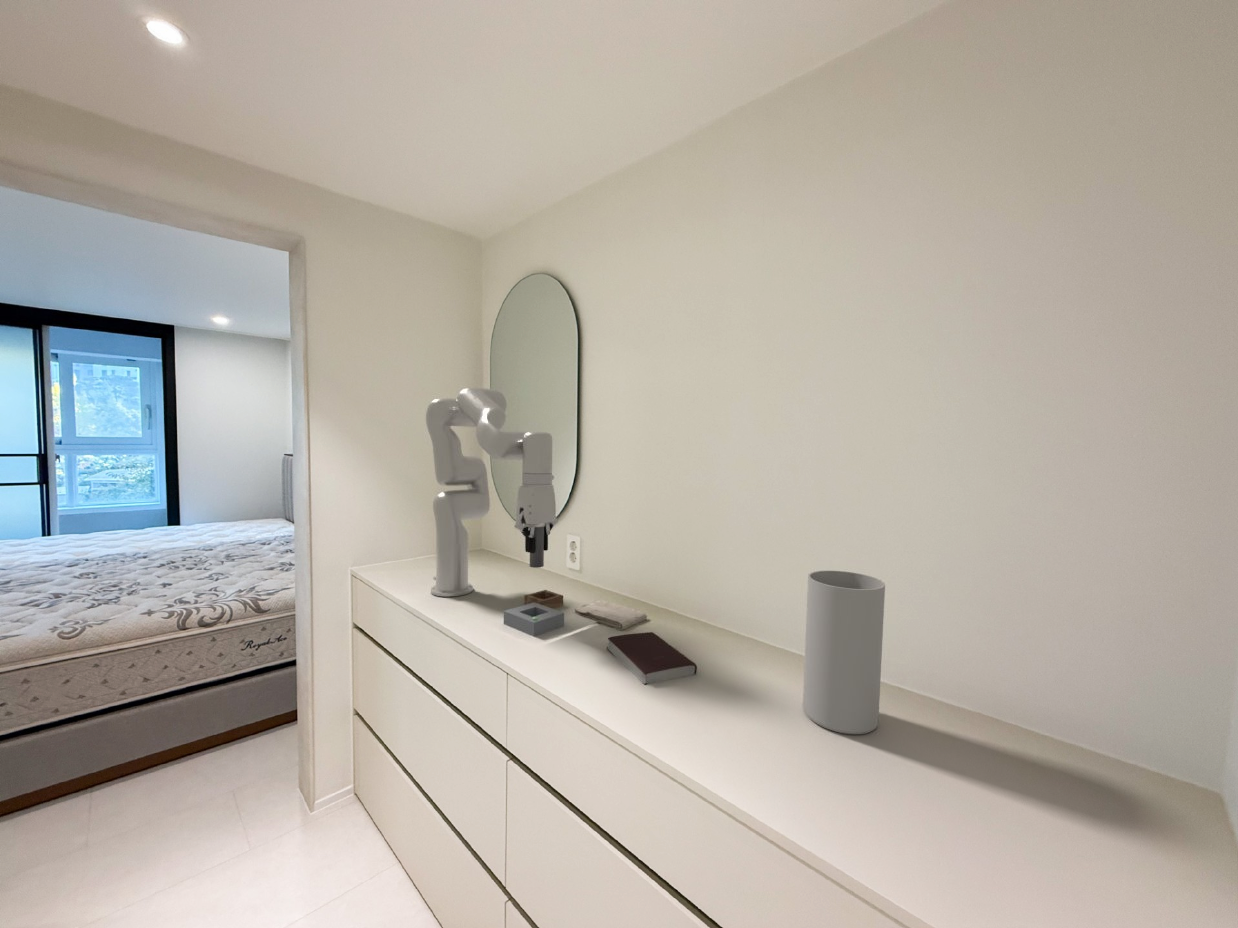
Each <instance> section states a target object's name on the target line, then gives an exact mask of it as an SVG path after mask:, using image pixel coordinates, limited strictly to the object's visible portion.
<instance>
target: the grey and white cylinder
mask: <svg viewBox="0 0 1238 928" xmlns="http://www.w3.org/2000/svg"><path fill="white" fill-rule="evenodd" d="M544 526H545V523H541V524H538V525H535V528H534V536H533V537H535V553H529V568H535V569H537V568H543V567H544V566H545V565H544V563H545V561H544V559H545V551H544Z"/></svg>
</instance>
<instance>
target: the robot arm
mask: <svg viewBox="0 0 1238 928" xmlns="http://www.w3.org/2000/svg"><path fill="white" fill-rule="evenodd" d="M507 407H508V406H507V400H506V397H505V395H504V393H502V392H501V391H500V390H497V389H493V388H485V387H484V388H483V387H475V386H474V387H467V388H464V389H462V390H461V391H460V392H459V393H458V394H457V397H456V398H453V397H452V398H451V397H444V398H443V397H441V398H435V399H434V400H432V401H430V403H429V404H428V406H427V409H426V413H425V422H426V427H427V432H428V434H429V436H430V440H431V445H432V453H433V464H434V465H433V466H434V474H435V478H436V479H435V480H436V481H437V484H439V485H441V486H443V487H458V486H459V487H461V486H462V487H463V486H467V489H453V490H451V489H450V490H446V491H442V492H439V493H438V494H437V495H436V496H435V497H434V499H433V503H432V509H433V515H434V521H435V528H436V531H435V537H436V538H435V539H436V541H435V542H436V544H435V545H436V546H435V548H436V549H435V551H436V555H435V556H436V557H435V558H436V559H435V560H436V561H435V563H436V564H435V566H436V567H435V569H436V570H435V575H434V576H433V577H432V578H433V580H434V581H435V585H433V586H431V588H430V594H432V595H433V596H438V597H443V598H444V597H446V598H448V597H458V596H465V595H467V594H469V593H471V592H473V590H474V585H472V583H469V533H468V531H467V529H466V527H465V526H464V524H463V522H462V521H465V520H475V519H482V518H483V517H485V516H487V515H488V513H489V511H490V505H491V502H490V501H491V500H490V490H489V480H488V472H487V467H486V464H485V462H484V461H483V459H482V458H480V457H479V456H476V455H463V452H462V451H463V450H462V441H461V439H460V438H459V436H458V435H457V433H456V432H455V431H454V429H453V428H452V427H468V428H469V427H471V428H476V429H475V430H476V431H475V433H476V435H475V436H476V439H477V443H478V445H479V446H480V447H481V449H482V450H483V451H484V452H486V453H487V454H488V455H489V456H490V457H491V458H492V459H493V458H494V459H495V460H499V461H501V460H502V461H505V460H508V461H509V460H510V461H511V460H517V461H518V460H519V461H520V460H521V461H522V471H521V472H522V480H521V481H522V485H519V487H518V492H517V498H516V507H515V508H516V509H515V524H514V529H516V530H518V531H519V532H521V534H522V535H523V537H524V540H525V541H524V547H525V548H524V549H525V552H526V553H529V554H530V553H535V537H533V536H534V528H535V525H538V524H541V523H545V526H544V552H547V551H548V550H549V535H550V534H551V530H553V528H554V526H556V524H557V523H558V522H559V521H558V518H557V516H556V514H557V513H556V512H557V511H556V510H557V509H556V508H557V506H556V494H555V489H554V485H553V480H554V479H555V476H554V475H553V436H552V434H551V433H549V432H546V431H545V432H543V431H522V430H521V431H518V430H501V429H502V428H503V426H504V425H505V423H506V417H507V416H506V409H507Z"/></svg>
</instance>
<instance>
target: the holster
mask: <svg viewBox="0 0 1238 928" xmlns="http://www.w3.org/2000/svg"><path fill="white" fill-rule="evenodd" d="M533 602H535V603H538V604H540V605H543V606H546V607H549V608H552V609H556V608H559V607H563V606H564V595H563V594H559V593H557V592H553V591H551V590H547V589H543V590H539V591H536V592H532V593H528V594H524V605H526V604H530V603H533Z"/></svg>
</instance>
